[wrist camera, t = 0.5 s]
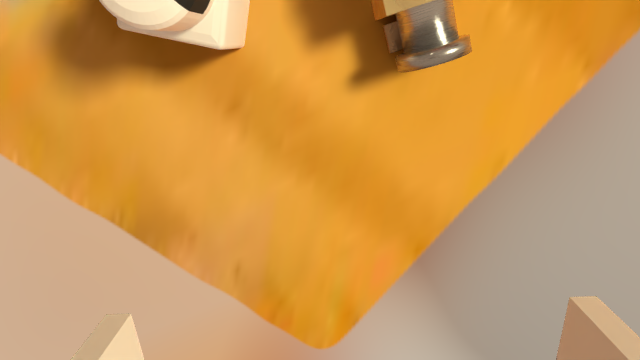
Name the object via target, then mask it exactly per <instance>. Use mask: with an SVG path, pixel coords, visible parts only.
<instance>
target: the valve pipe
mask: <svg viewBox="0 0 640 360" xmlns="http://www.w3.org/2000/svg"><path fill="white" fill-rule="evenodd" d="M371 4H372V8H373V12H374V16H375V20H379V19H382V18H385V17H388V16H391V15H394V14H396V19H397V21H396V22H393V23H390V24H387V25H384V26H383V29H384V34H385V38H386V42H387V46H388V51H389V53H393V52H396V51H399V50H402V49H403V50H404V53H401V54H399V55H397V56H396V57H395V59H396V64H397V68H398V72H409V71H415V70H420V69H424V68H428V67H432V66H435V65H439V64H442V63H445V62H449V61H451V60H454V59H457V58H460V57H462V56H464V55H467V54H469V53H470V52H471V51H472V48H471V42H470V36H469V35H462V36H458V31H457V25H456V19H455V13H454V7H453V2H452V0H371Z"/></svg>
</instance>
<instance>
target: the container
mask: <svg viewBox="0 0 640 360" xmlns="http://www.w3.org/2000/svg"><path fill="white" fill-rule="evenodd" d="M99 1H100V2H101V3H102V5H103V6H104V7H105V8H106V9H107V10H108V11H109V12H110V13H111V14H112V15H113V16H115V17H116V18H117V25H118V26H119V28H121V29H123V30H128V31H132V32H137V33H142V34H147V35H151V36H156V37H161V38H166V39H170V40H175V41H180V42H185V43H189V44H194V45H199V46H204V47H208V48H213V49H218V50H222V49H235V48H242V47H244V45H245V37H246V29H247V20H248V12H249V4H250V0H99Z"/></svg>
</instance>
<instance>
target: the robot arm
mask: <svg viewBox="0 0 640 360" xmlns="http://www.w3.org/2000/svg"><path fill="white" fill-rule="evenodd" d="M71 360H144V357H143V353H142V350H141V346H140V343H139V339H138V336H137V333H136V329H135V326H134V322H133V319H132V315H131V314H107V315H106V316H105V317H104V318H103V320H102V321H101V322H100V323H99V324H98V326H97V327H96V328H95V329H94V331H93V332H92V333H91V335H90V336H89V337H88V338H87V340H86V341H85V342H84V343H83V345H82V346H81V347H80V348H79V350H78V351H77V352H76V353H75V355H74V356H73V357H72V359H71ZM556 360H640V337H639V336H637V334H636V333H634V332H633V331H632V330H631V329H630V328H629V327H628V326H627V325H626V324H625V323H624V322H623V321H622V320H621V319H620V318H619V317H618V316H617V315H615V314H614V313H613V312H612V311H611V310H610V309H609V308H608V307H607V306H606V305H605V304H604V303H603V302H602V301H601V300H600V299H599V298H597V296H589V297H570V298H569V303H568V308H567V312H566V316H565V321H564V326H563V330H562V335H561V339H560V344H559V349H558V353H557V358H556Z"/></svg>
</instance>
